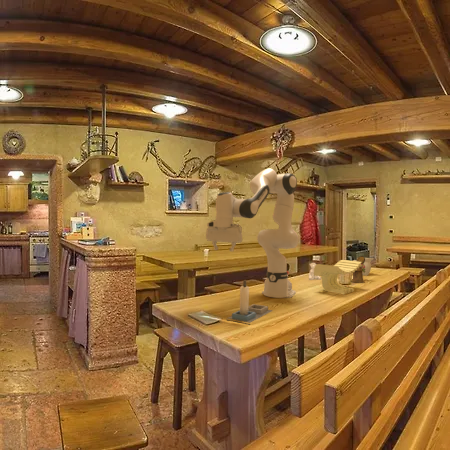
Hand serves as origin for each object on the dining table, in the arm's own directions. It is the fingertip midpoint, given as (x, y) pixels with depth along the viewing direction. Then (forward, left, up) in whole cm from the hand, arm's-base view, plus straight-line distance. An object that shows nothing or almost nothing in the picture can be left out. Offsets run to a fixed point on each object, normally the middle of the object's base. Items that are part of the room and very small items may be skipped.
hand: (223, 250), depth 190 cm
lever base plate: (+7, +20, -29) cm, 36 cm away
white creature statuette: (-105, +12, -29) cm, 110 cm away
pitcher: (-147, +38, -29) cm, 155 cm away
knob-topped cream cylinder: (+14, +20, -28) cm, 37 cm away
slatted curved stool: (-75, +38, -29) cm, 89 cm away
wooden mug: (-115, +42, -29) cm, 126 cm away
